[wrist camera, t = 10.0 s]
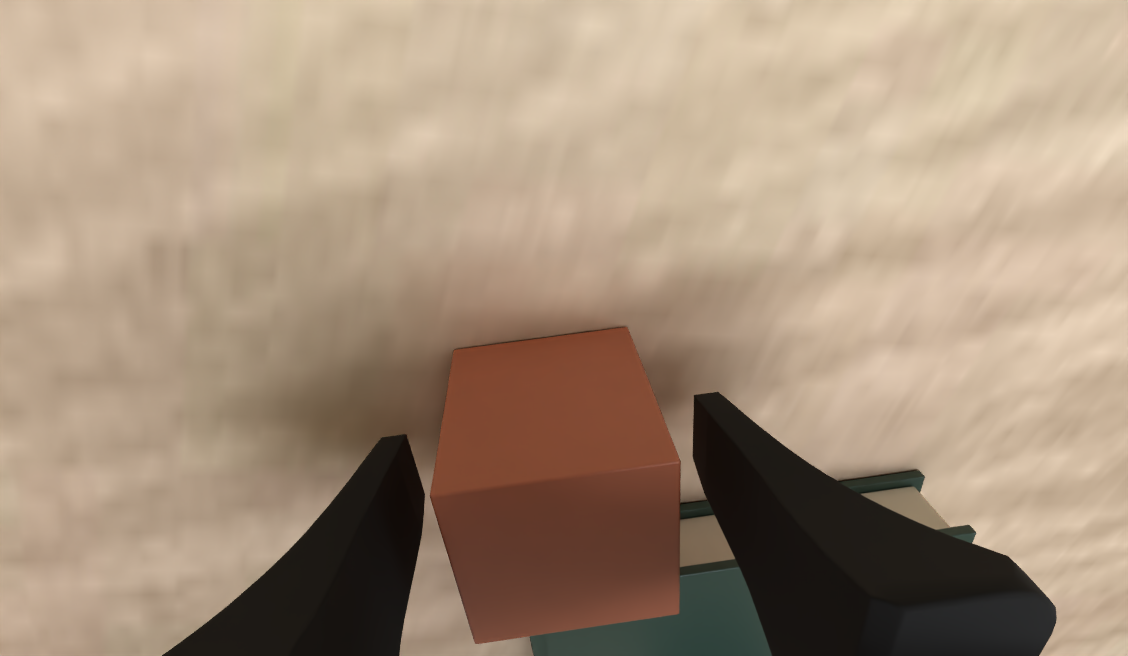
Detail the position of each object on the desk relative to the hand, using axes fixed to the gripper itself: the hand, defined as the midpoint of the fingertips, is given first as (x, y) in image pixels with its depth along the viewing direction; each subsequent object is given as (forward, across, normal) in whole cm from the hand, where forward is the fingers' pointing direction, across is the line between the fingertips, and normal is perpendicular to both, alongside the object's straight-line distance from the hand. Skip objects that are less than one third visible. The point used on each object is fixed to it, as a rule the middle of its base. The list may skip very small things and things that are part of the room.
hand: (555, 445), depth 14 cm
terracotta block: (+2, 0, 0) cm, 2 cm away
